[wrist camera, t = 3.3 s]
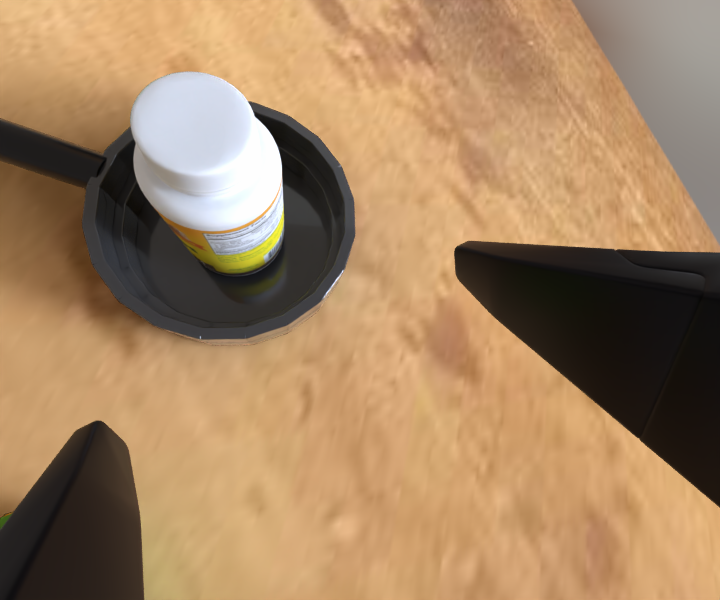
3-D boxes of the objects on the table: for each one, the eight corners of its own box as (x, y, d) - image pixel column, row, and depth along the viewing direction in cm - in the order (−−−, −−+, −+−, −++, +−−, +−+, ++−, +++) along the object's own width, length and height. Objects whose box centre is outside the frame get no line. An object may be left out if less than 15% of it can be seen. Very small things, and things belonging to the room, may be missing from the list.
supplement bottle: (178, 202, 22) (84, 56, 12) (271, 185, 23) (256, 40, 13) (200, 290, 21) (119, 212, 11) (295, 267, 22) (299, 179, 12)
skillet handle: (126, 170, 20) (109, 148, 18) (110, 202, 19) (90, 183, 17) (-72, 103, 19) (-113, 72, 17) (-94, 135, 18) (-140, 106, 16)
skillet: (368, 183, 25) (381, 149, 21) (308, 373, 21) (312, 372, 18) (173, 112, 23) (151, 63, 19) (77, 305, 20) (28, 289, 16)
